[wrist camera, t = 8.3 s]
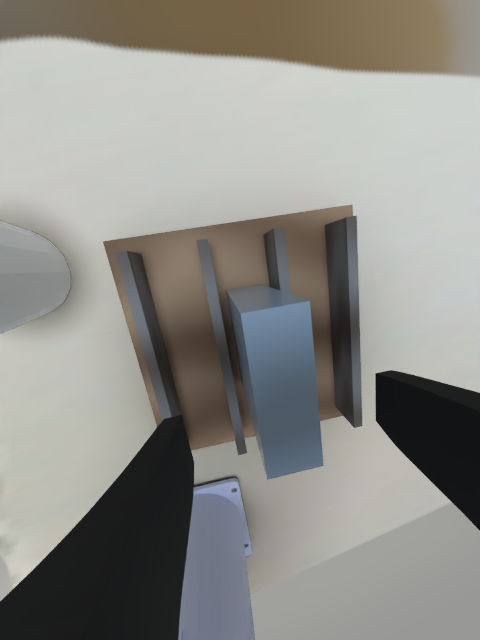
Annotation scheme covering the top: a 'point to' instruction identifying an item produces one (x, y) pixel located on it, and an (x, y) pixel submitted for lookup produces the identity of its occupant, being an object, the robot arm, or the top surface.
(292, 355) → the block
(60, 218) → the top surface
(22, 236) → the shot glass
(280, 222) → the rack
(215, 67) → the top surface
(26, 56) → the top surface
